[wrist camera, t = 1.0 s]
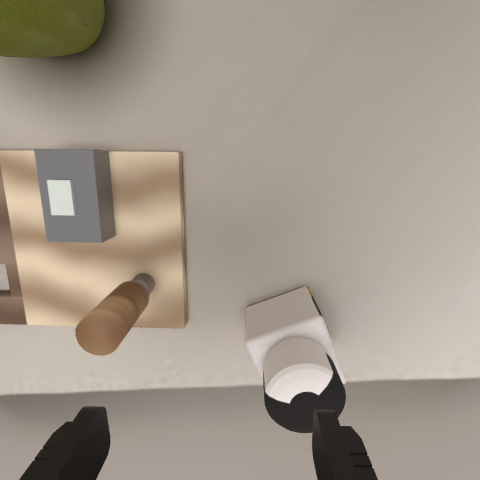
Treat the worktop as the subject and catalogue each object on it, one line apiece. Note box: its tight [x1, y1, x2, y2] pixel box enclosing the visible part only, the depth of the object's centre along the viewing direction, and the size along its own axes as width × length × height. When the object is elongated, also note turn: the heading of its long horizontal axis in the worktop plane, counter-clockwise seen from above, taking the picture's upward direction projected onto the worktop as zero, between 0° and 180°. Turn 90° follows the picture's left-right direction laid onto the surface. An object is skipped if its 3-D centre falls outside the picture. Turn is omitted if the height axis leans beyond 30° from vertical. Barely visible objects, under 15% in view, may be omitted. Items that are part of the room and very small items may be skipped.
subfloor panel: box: [0, 150, 187, 328], centre depth 32 cm, size 18×26×2 cm
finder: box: [34, 149, 116, 243], centre depth 28 cm, size 8×5×3 cm, turn 179°
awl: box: [76, 273, 155, 355], centre depth 27 cm, size 3×3×10 cm
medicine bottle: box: [245, 286, 346, 433], centre depth 28 cm, size 7×7×12 cm
